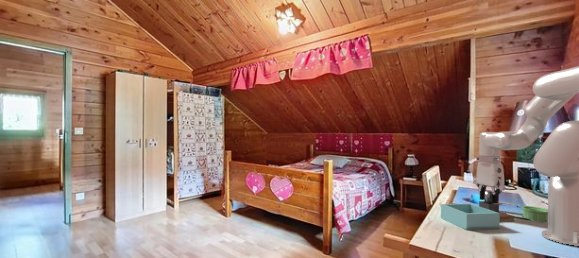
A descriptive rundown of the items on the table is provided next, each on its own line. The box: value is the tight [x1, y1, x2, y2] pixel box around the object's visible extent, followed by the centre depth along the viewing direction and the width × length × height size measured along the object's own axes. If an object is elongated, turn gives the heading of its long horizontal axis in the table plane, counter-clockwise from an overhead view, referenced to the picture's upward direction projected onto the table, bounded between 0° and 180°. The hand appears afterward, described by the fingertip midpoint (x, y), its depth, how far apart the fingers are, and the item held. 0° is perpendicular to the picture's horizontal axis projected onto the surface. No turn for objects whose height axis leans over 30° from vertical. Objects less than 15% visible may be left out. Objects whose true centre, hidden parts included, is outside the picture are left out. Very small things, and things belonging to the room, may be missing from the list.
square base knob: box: [478, 189, 500, 213], centre depth 119 cm, size 5×5×9 cm
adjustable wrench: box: [497, 200, 548, 210], centre depth 136 cm, size 25×6×2 cm, turn 42°
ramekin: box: [521, 205, 548, 223], centre depth 117 cm, size 9×9×4 cm
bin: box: [440, 203, 501, 231], centre depth 110 cm, size 14×14×6 cm
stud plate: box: [499, 210, 515, 222], centre depth 119 cm, size 12×12×5 cm
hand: (488, 200), depth 119 cm, fingers open, 5 cm apart
